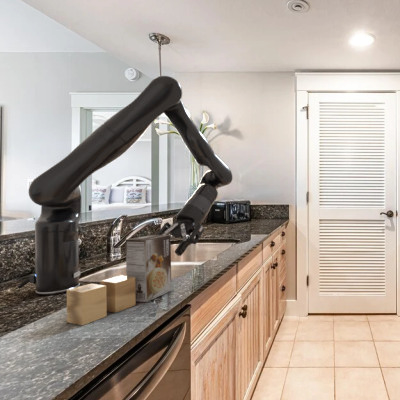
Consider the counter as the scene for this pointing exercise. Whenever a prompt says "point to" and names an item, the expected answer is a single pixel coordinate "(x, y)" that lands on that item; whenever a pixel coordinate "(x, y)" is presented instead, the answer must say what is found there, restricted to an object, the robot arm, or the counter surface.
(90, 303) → the maple block near
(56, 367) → the counter surface
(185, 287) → the counter surface
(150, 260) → the printed cardboard box
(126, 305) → the maple block middle
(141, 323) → the counter surface
